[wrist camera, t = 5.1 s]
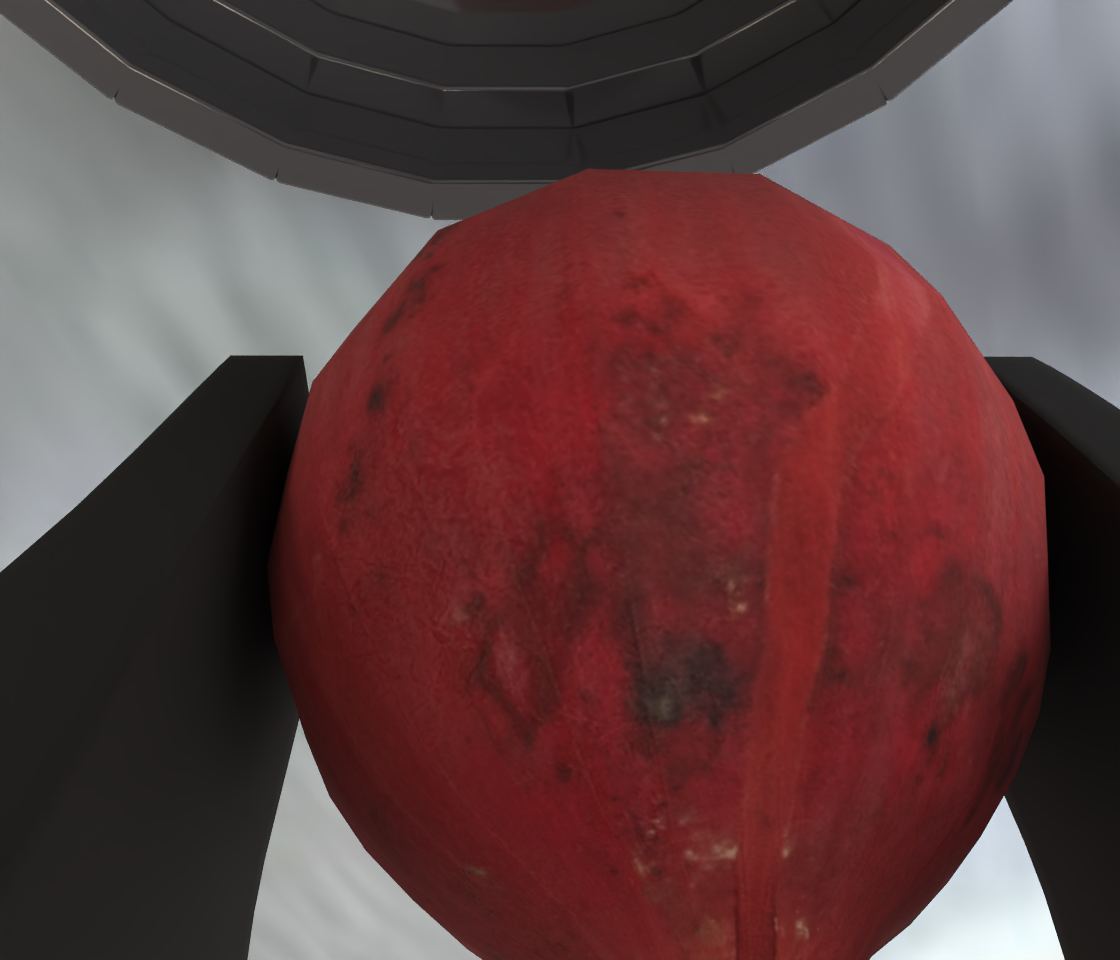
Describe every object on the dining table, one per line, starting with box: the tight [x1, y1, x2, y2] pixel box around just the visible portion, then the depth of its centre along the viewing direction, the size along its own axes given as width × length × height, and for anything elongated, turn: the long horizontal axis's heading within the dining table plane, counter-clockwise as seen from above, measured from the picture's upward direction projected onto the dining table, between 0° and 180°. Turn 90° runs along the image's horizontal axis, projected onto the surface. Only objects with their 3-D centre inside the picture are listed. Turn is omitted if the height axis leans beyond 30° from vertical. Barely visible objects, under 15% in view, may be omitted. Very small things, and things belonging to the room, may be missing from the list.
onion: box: [267, 169, 1051, 960], centre depth 8 cm, size 6×6×8 cm
